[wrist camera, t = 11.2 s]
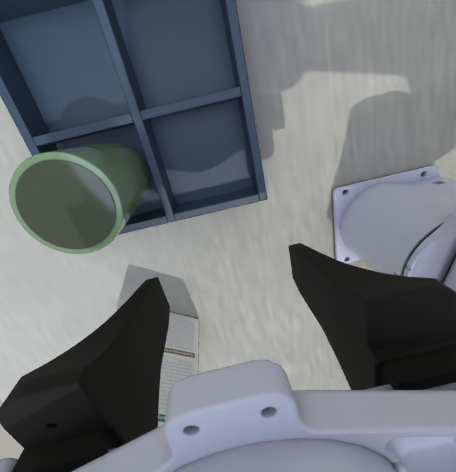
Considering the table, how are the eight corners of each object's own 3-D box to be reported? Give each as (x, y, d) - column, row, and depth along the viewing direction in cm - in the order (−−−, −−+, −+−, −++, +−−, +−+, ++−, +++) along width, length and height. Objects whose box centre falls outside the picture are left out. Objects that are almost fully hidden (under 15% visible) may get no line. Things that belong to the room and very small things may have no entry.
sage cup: (137, 132, 19) (95, 139, 12) (161, 201, 22) (137, 242, 14) (66, 149, 20) (-17, 167, 12) (97, 216, 22) (43, 264, 15)
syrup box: (148, 305, 27) (91, 485, 14) (202, 318, 28) (197, 494, 15) (135, 343, 29) (75, 532, 16) (186, 354, 30) (169, 537, 17)
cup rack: (221, -42, 16) (223, -74, 14) (260, 190, 23) (267, 199, 20) (-11, 17, 17) (-52, -3, 14) (92, 229, 23) (78, 244, 20)
